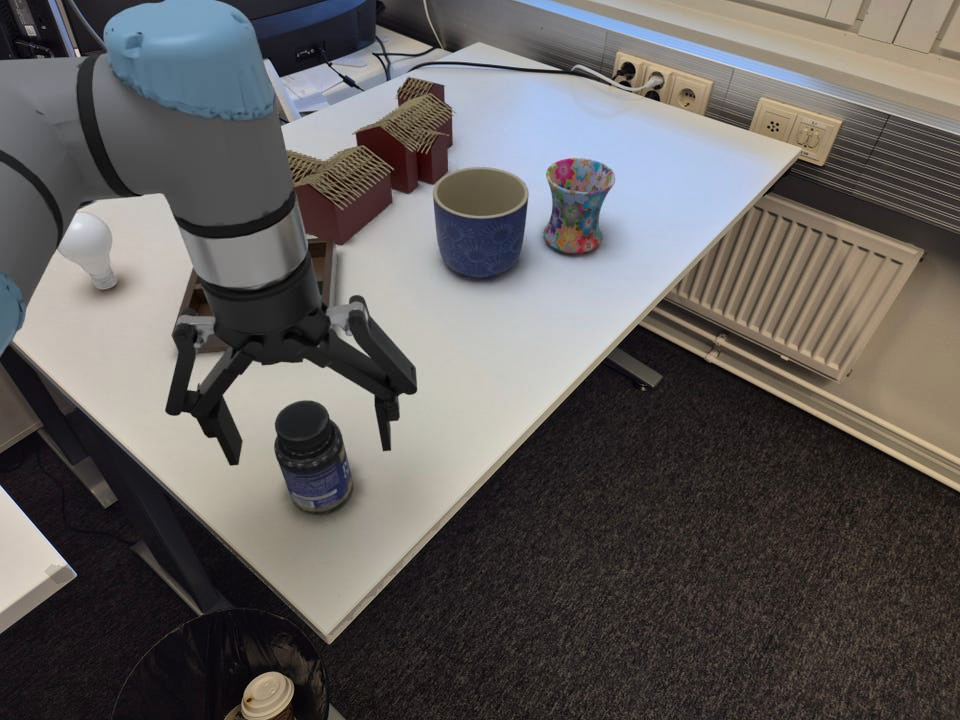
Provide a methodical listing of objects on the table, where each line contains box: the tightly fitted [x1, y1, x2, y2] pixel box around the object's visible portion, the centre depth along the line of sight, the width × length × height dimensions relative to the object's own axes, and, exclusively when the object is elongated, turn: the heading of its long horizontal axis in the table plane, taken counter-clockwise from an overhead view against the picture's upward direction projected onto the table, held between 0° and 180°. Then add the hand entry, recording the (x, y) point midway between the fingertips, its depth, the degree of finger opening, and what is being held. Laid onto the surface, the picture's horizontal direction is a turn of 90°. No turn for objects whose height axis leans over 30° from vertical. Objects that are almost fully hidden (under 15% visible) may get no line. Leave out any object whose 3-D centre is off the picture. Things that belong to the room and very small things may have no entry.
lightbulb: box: [56, 211, 118, 291], centre depth 82 cm, size 6×6×11 cm
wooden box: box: [170, 237, 338, 354], centre depth 83 cm, size 18×18×3 cm
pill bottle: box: [273, 399, 354, 515], centre depth 60 cm, size 6×6×11 cm
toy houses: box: [286, 76, 457, 246], centre depth 105 cm, size 45×20×10 cm, turn 152°
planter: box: [432, 166, 530, 278], centre depth 87 cm, size 12×12×11 cm
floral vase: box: [542, 157, 616, 254], centre depth 91 cm, size 12×9×11 cm
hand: (312, 446), depth 59 cm, fingers open, 13 cm apart
